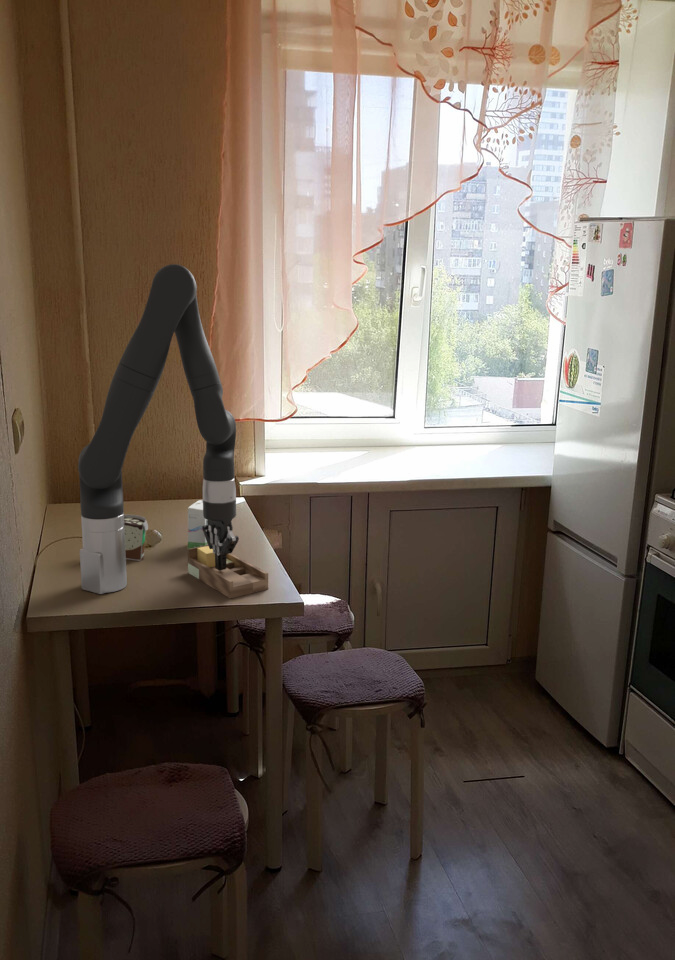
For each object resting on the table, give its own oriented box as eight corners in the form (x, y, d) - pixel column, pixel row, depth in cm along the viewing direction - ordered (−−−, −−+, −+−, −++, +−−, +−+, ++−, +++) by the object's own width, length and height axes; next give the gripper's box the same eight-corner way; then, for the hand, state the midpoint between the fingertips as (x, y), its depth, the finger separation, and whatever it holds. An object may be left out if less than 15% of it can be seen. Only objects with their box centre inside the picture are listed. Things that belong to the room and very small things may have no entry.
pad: (233, 571, 201) (232, 562, 200) (199, 579, 195) (198, 569, 195) (221, 565, 205) (221, 555, 204) (188, 572, 199) (187, 562, 199)
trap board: (268, 589, 190) (268, 564, 189) (230, 598, 184) (229, 572, 183) (224, 564, 205) (224, 541, 204) (188, 572, 199) (187, 548, 198)
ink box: (198, 541, 223) (197, 499, 220) (217, 543, 222) (216, 500, 219) (186, 551, 215) (185, 507, 212) (205, 553, 214) (205, 509, 211)
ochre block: (221, 564, 198) (221, 550, 197) (206, 567, 196) (206, 553, 195) (212, 558, 202) (212, 545, 201) (197, 561, 200) (197, 548, 199)
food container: (158, 553, 213) (156, 516, 210) (146, 561, 207) (145, 523, 204) (115, 549, 216) (113, 512, 213) (102, 556, 210) (100, 518, 208)
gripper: (249, 501, 187) (249, 573, 191) (218, 489, 197) (220, 558, 201) (220, 506, 182) (221, 580, 186) (190, 493, 192) (192, 564, 196)
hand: (220, 569), depth 193 cm, fingers closed
